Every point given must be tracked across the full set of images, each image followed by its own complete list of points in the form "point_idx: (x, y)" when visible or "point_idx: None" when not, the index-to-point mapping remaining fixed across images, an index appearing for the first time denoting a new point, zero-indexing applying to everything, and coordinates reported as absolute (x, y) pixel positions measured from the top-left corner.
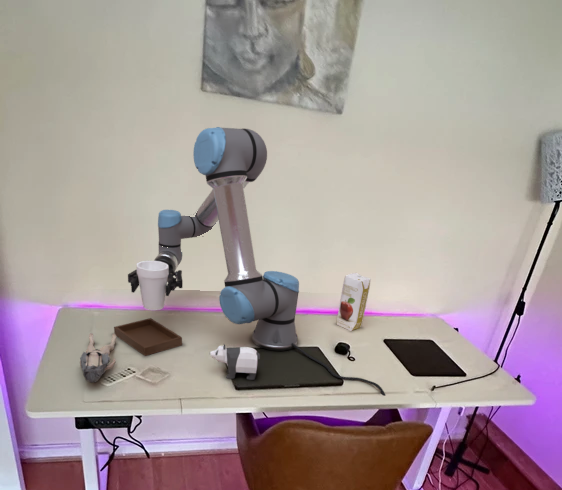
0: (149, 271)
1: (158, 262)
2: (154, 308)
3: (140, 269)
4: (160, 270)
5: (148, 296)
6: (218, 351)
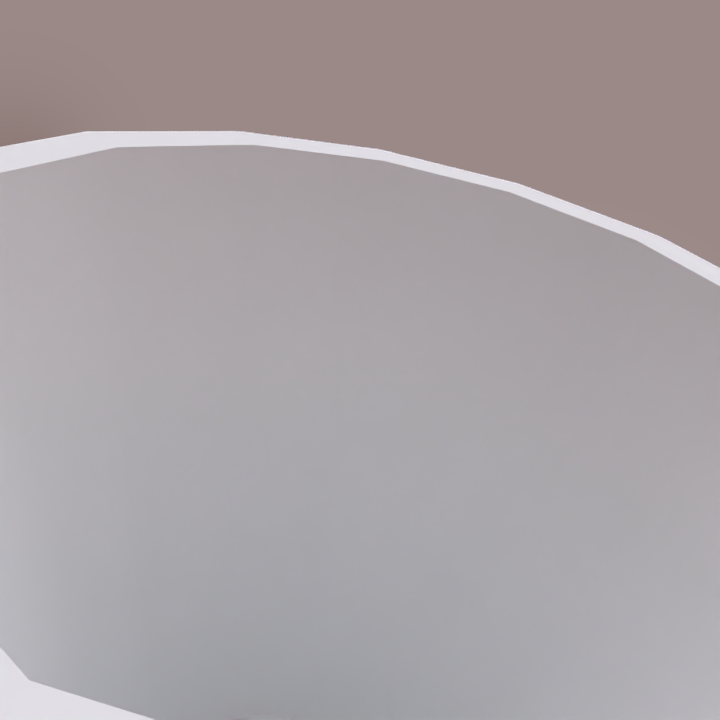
0: (444, 187)
1: (23, 676)
2: (265, 709)
3: (635, 245)
4: (234, 133)
5: (371, 595)
6: None
